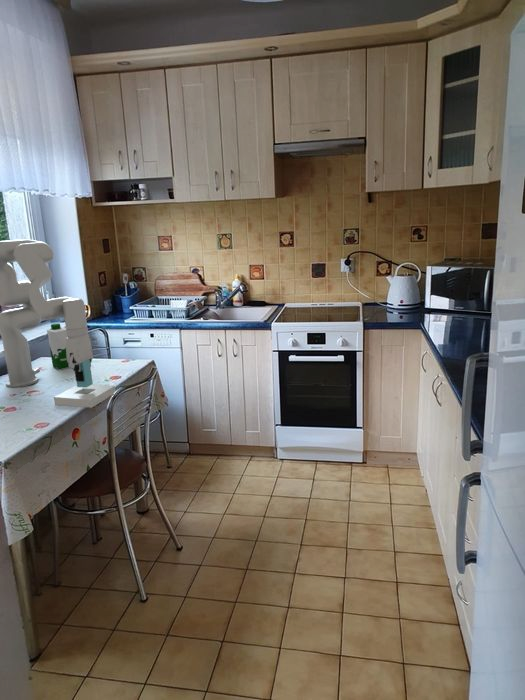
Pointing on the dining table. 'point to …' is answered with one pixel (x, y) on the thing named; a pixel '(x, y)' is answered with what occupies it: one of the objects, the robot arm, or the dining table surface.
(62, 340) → the milk carton
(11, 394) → the dining table surface
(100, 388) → the white square-hole board
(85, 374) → the plug
